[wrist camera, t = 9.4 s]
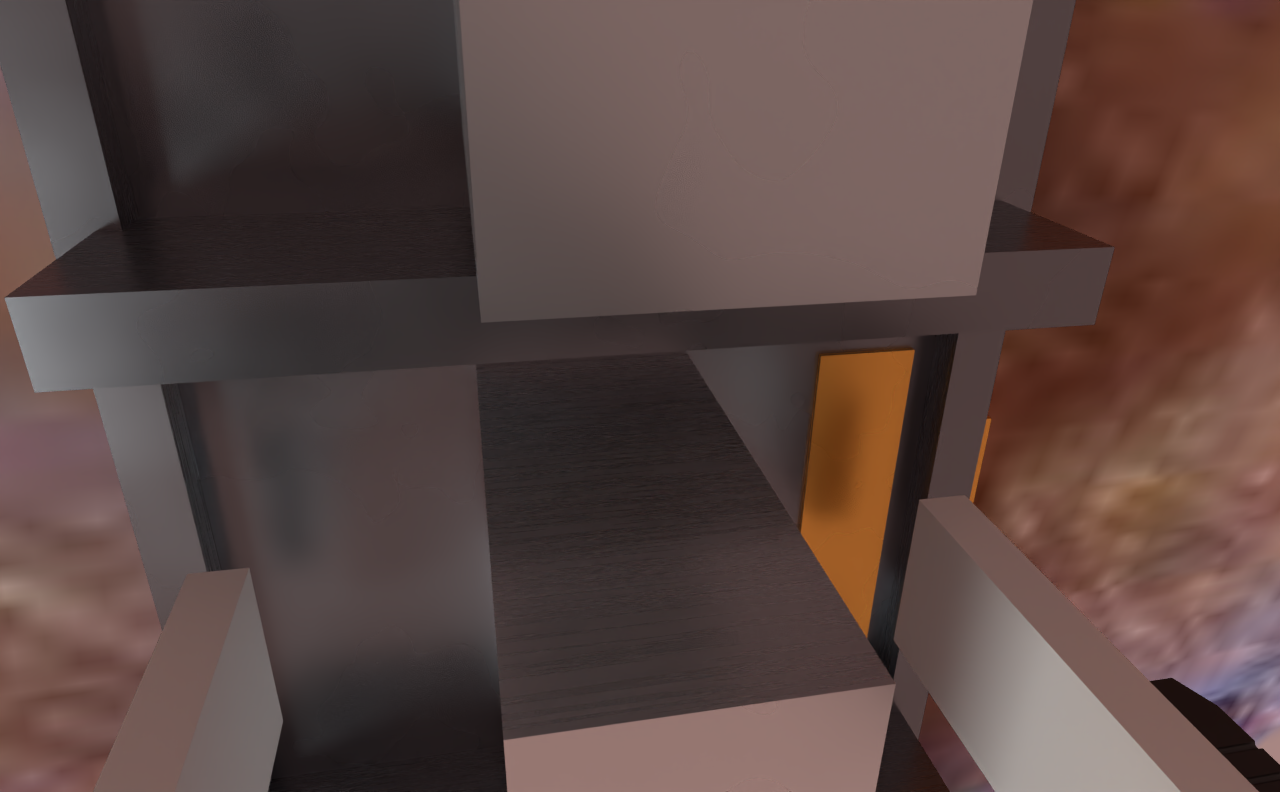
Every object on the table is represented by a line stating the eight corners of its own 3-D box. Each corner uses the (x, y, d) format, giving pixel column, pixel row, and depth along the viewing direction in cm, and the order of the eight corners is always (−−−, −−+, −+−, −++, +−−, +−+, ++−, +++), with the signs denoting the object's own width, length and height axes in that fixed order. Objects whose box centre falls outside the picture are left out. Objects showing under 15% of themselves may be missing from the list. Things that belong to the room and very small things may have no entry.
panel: (475, 368, 13) (502, 739, 7) (687, 354, 13) (895, 683, 7) (502, 719, 16) (538, 1199, 10) (673, 696, 16) (810, 1133, 10)
